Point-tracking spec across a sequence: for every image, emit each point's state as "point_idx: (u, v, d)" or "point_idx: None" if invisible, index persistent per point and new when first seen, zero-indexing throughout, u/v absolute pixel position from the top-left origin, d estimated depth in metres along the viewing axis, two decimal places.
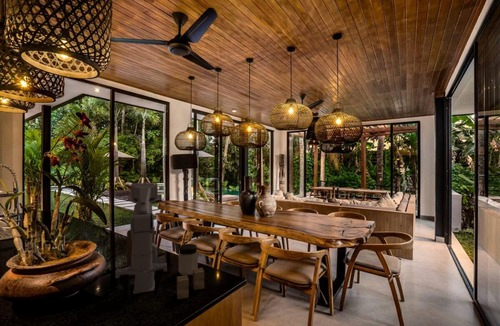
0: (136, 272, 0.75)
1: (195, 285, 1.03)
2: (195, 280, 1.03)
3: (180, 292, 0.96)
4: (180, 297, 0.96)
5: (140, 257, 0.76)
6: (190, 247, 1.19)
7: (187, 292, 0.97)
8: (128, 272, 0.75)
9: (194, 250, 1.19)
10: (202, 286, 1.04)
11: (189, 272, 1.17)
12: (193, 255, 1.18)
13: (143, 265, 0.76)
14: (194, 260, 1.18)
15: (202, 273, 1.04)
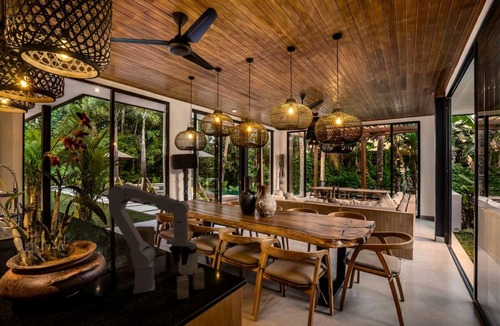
0: (173, 243, 1.03)
1: (195, 285, 1.03)
2: (195, 280, 1.03)
3: (180, 292, 0.96)
4: (180, 297, 0.96)
5: (175, 233, 1.03)
6: None
7: (187, 292, 0.97)
8: (170, 242, 1.05)
9: (194, 250, 1.19)
10: (202, 286, 1.04)
11: (189, 272, 1.17)
12: (193, 255, 1.18)
13: (176, 240, 1.02)
14: (194, 260, 1.18)
15: (202, 273, 1.04)
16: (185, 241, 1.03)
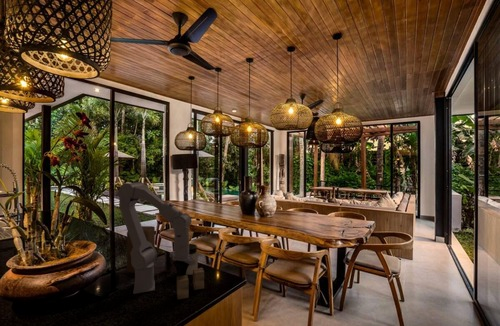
0: None
1: (195, 285, 1.03)
2: (195, 280, 1.03)
3: (180, 292, 0.96)
4: (180, 297, 0.96)
5: (175, 247, 1.00)
6: (190, 247, 1.19)
7: (187, 292, 0.97)
8: (172, 255, 1.03)
9: (194, 250, 1.19)
10: (202, 286, 1.04)
11: (189, 272, 1.17)
12: (193, 255, 1.18)
13: (176, 254, 0.99)
14: None
15: (202, 273, 1.04)
16: (185, 256, 1.00)
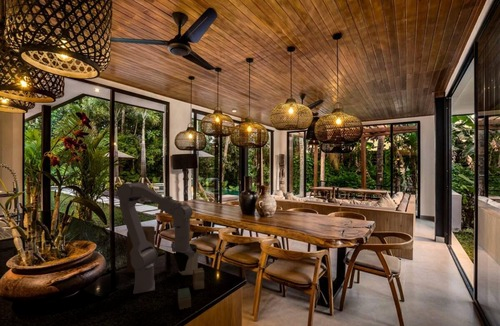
0: (173, 248, 0.99)
1: (195, 285, 1.03)
2: (195, 280, 1.03)
3: None
4: None
5: (175, 238, 0.98)
6: None
7: None
8: (173, 246, 1.01)
9: (194, 250, 1.19)
10: (202, 286, 1.04)
11: (189, 272, 1.17)
12: None
13: (176, 245, 0.97)
14: (194, 260, 1.18)
15: (202, 273, 1.04)
16: (185, 247, 0.97)
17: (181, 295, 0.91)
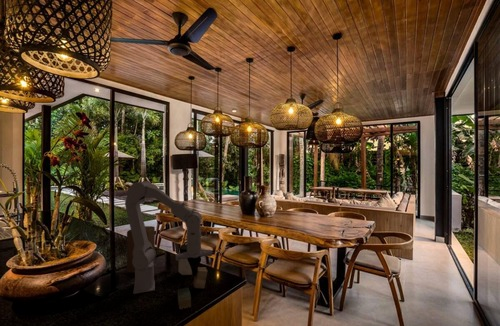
0: (191, 256, 1.02)
1: (196, 283, 1.03)
2: (197, 278, 1.03)
3: None
4: None
5: (194, 245, 1.02)
6: None
7: None
8: (185, 256, 1.02)
9: None
10: (202, 286, 1.04)
11: (189, 272, 1.17)
12: None
13: (196, 251, 1.02)
14: None
15: (205, 272, 1.05)
16: (200, 250, 1.06)
17: (181, 295, 0.91)
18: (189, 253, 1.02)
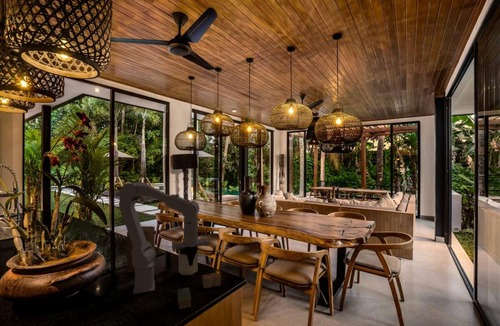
0: (187, 245, 1.01)
1: (208, 279, 1.05)
2: (213, 278, 1.06)
3: None
4: None
5: (190, 234, 1.01)
6: None
7: None
8: (181, 245, 1.01)
9: None
10: (206, 286, 1.05)
11: (189, 272, 1.17)
12: None
13: (192, 240, 1.01)
14: (194, 260, 1.18)
15: (218, 284, 1.07)
16: (197, 240, 1.05)
17: (181, 295, 0.91)
18: (186, 242, 1.01)
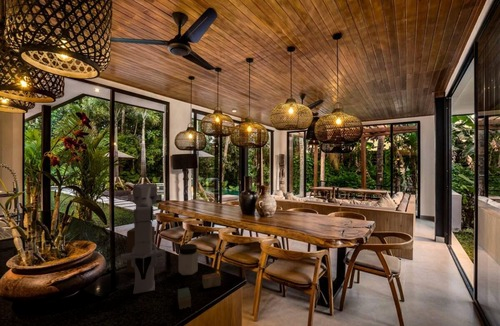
0: (138, 256, 0.87)
1: (208, 279, 1.05)
2: (213, 278, 1.06)
3: None
4: None
5: (142, 243, 0.88)
6: (190, 247, 1.19)
7: None
8: (131, 256, 0.87)
9: (194, 250, 1.19)
10: (206, 286, 1.05)
11: (189, 272, 1.17)
12: (193, 255, 1.18)
13: (144, 251, 0.88)
14: (194, 260, 1.18)
15: (218, 284, 1.07)
16: (151, 250, 0.91)
17: (181, 295, 0.91)
18: (136, 253, 0.88)
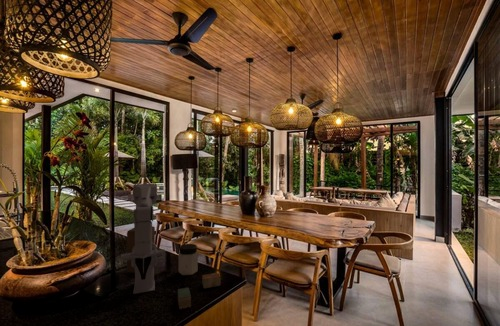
0: (138, 256, 0.87)
1: (208, 279, 1.05)
2: (213, 278, 1.06)
3: None
4: None
5: (142, 243, 0.88)
6: (190, 247, 1.19)
7: None
8: (131, 256, 0.87)
9: (194, 250, 1.19)
10: (206, 286, 1.05)
11: (189, 272, 1.17)
12: (193, 255, 1.18)
13: (144, 251, 0.88)
14: (194, 260, 1.18)
15: (218, 284, 1.07)
16: (151, 250, 0.91)
17: (181, 295, 0.91)
18: (136, 253, 0.88)
